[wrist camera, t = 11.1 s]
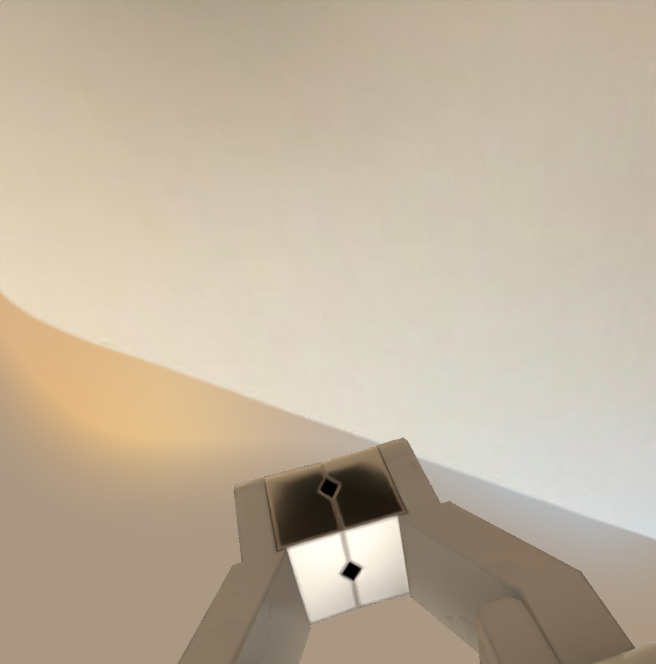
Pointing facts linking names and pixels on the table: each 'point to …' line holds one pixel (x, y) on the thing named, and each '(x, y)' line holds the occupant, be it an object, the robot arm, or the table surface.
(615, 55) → the table surface
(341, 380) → the table surface
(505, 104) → the table surface
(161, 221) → the table surface
